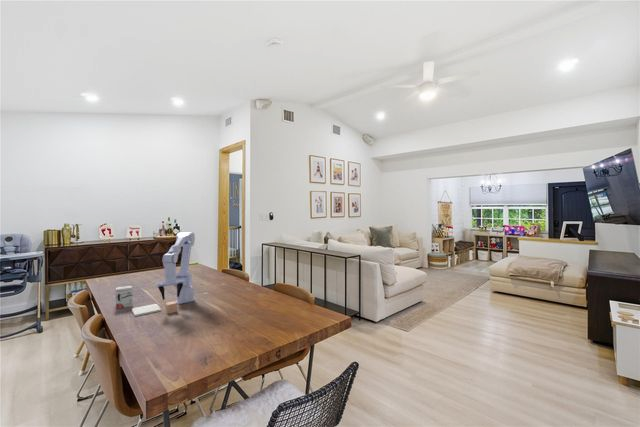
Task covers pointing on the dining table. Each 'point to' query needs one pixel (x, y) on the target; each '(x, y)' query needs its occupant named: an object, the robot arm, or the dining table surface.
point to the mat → (146, 309)
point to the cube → (171, 307)
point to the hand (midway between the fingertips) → (171, 297)
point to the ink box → (124, 297)
